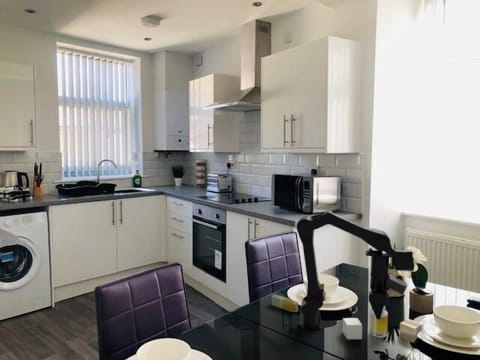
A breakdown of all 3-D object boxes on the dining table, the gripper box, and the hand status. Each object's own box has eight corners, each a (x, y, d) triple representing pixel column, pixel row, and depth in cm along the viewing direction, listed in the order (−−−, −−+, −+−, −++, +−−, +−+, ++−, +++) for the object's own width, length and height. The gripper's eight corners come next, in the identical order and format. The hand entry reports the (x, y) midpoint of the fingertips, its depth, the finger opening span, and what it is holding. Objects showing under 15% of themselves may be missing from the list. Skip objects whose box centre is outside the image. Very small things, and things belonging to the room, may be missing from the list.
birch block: (414, 343, 120) (414, 328, 120) (399, 337, 124) (400, 322, 124) (422, 338, 123) (422, 324, 123) (407, 332, 127) (408, 318, 127)
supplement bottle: (390, 334, 126) (391, 305, 125) (381, 340, 122) (382, 310, 122) (375, 328, 130) (376, 300, 129) (366, 333, 127) (367, 305, 126)
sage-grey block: (347, 339, 123) (347, 325, 123) (342, 332, 128) (342, 318, 128) (361, 339, 123) (362, 324, 123) (356, 331, 128) (357, 318, 128)
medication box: (270, 305, 151) (270, 295, 151) (274, 302, 153) (274, 293, 153) (294, 313, 143) (294, 303, 143) (298, 311, 145) (298, 301, 145)
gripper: (407, 280, 113) (406, 329, 114) (404, 263, 130) (402, 306, 131) (369, 276, 117) (368, 323, 118) (370, 260, 134) (369, 301, 135)
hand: (378, 313), depth 126 cm, fingers open, 9 cm apart
